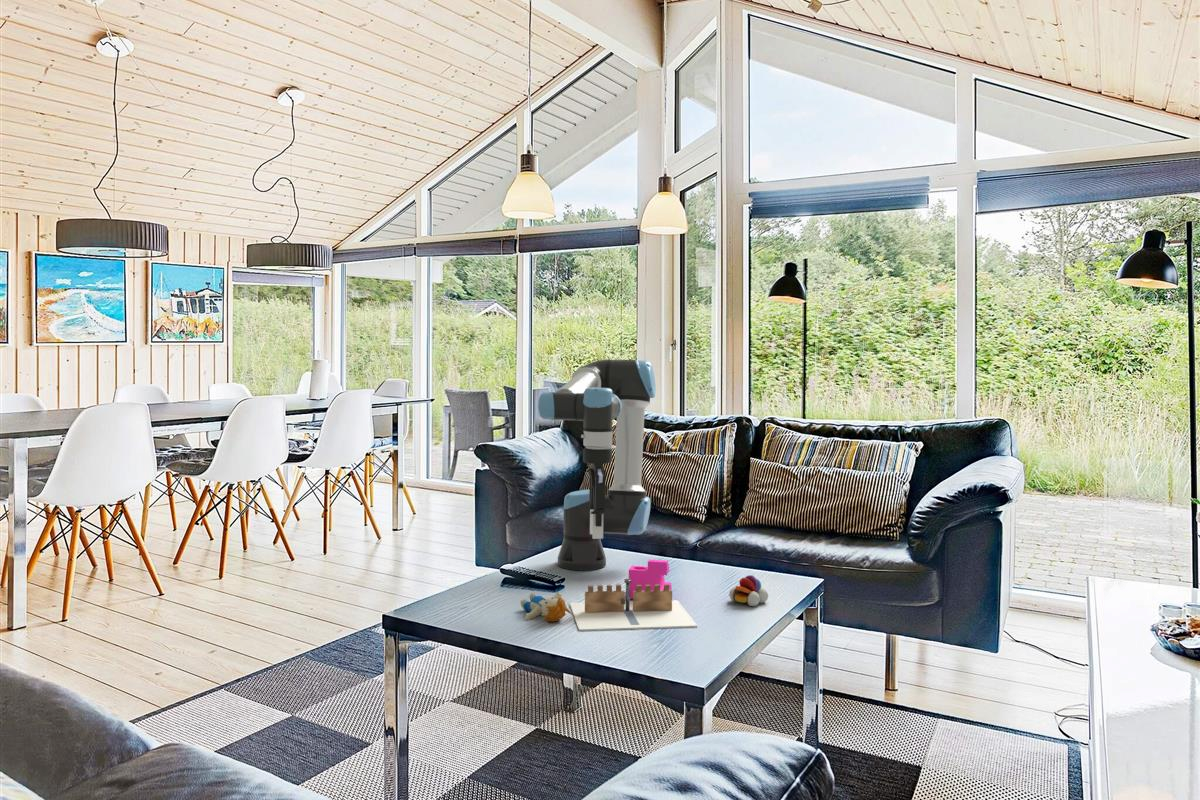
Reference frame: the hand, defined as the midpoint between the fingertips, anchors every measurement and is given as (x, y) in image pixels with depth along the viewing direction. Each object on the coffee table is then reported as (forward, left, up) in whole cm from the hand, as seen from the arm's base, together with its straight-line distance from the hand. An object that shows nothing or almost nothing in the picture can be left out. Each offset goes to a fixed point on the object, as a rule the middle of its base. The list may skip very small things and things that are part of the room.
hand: (596, 535), depth 223 cm
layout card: (+9, +8, -19) cm, 22 cm away
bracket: (-9, +16, -19) cm, 27 cm away
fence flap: (+6, +2, -18) cm, 19 cm away
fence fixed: (+6, +14, -19) cm, 24 cm away
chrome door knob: (+6, +7, -19) cm, 21 cm away
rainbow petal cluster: (0, +41, -19) cm, 46 cm away
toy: (+7, -14, -19) cm, 25 cm away
